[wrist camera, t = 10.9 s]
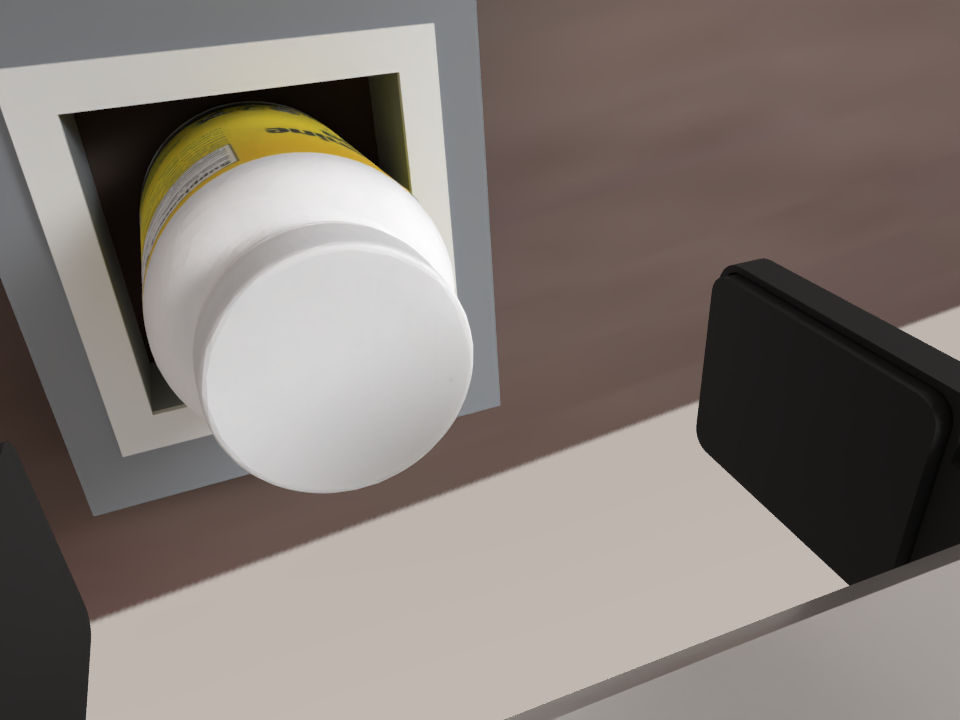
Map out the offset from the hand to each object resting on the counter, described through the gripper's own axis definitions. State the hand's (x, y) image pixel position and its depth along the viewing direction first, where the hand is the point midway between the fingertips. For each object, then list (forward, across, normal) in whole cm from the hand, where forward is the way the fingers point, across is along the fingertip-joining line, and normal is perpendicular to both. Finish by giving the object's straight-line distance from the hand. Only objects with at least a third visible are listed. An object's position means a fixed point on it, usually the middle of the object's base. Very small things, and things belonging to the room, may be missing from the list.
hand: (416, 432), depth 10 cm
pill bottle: (+14, +1, +1) cm, 14 cm away
